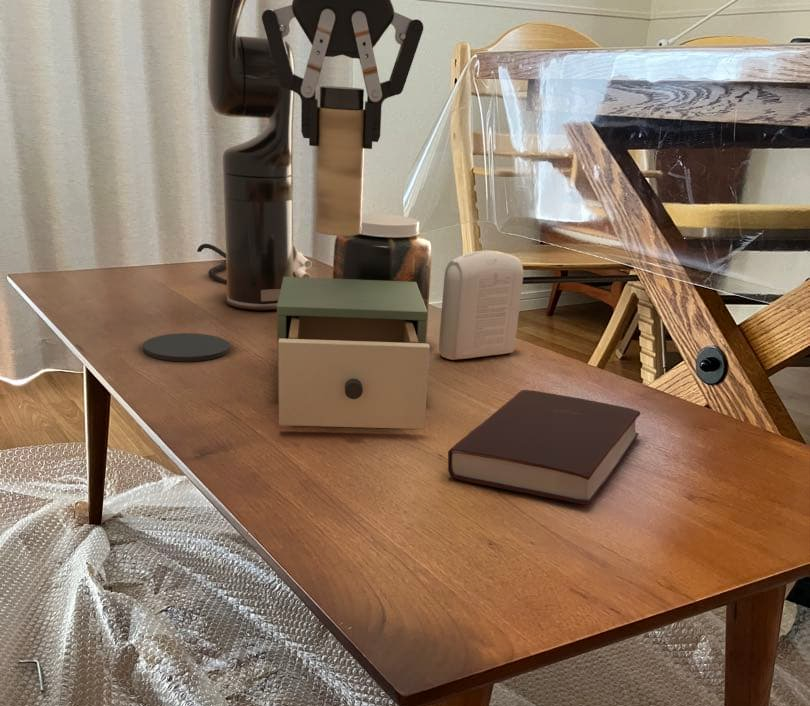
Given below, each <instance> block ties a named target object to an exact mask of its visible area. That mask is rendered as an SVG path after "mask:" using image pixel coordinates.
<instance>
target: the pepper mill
mask: <svg viewBox="0 0 810 706" xmlns="http://www.w3.org/2000/svg"><path fill="white" fill-rule="evenodd" d="M364 99H365V89H364V88H359V87H350V86H349V87H348V86H334V85H333V86H331V85H321V86H319V106H318V113H317V146H316V184H315V185H316V189H315V193H316V195H315V196H316V197H315V198H316V201H315V208H316V209H315V231H316V233H319V234H322V235H325V236H326V235H327V236H335V237H336V236H353V235H358V234H361V229H362V214H363V198H364V196H363V195H364V172H365V171H364V170H365V169H364V167H365V165H364V164H365V149H364V134H365V108H364V106H365V100H364Z"/></svg>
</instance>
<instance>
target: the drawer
mask: <svg viewBox="0 0 810 706" xmlns="http://www.w3.org/2000/svg"><path fill="white" fill-rule="evenodd" d="M430 354H431V347H430V344H429V343H427V342H426V343H419V342H418V339H417V336H416V332H415V329H414V326H413V323H412V320H395V319H368V318H340V317H313V316H292V318H291V325H290V331H289V339H279V341H278V366H279V402H278V425H279V426H289V427H290V426H292V427H326V428H327V427H328V428H331V427H332V428H364V429H365V428H368V429H404V430H405V429H406V430H407V429H408V430H409V429H410V430H424V429H425V427H426V412H427V411H426V410H427V397H428V383H429V369H430V368H429V367H430Z"/></svg>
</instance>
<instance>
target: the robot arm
mask: <svg viewBox="0 0 810 706" xmlns="http://www.w3.org/2000/svg"><path fill="white" fill-rule="evenodd" d="M209 1H210V2H209V22H208V23H209V26H208V29H209V30H208V47H207V89H208V97H209V101H210V104H211V108H212V109H213V110H214V112H215V113H216V114H218V115H219V116H223V117H229V118H231V117H232V118H248V119H249V118H251V119H267V123H266V126H265V128H264V129H263V130H262V131H261V132H260V133H258V134H257V135H256V136H255V137H252V138H251V139H249V140H247V141H244V142H242V143H239V144H236V145H233V146H230V147H228V148H226V149H225V150H224V151H223V153H222V178H223V179H222V181H223V182H222V183H223V203H224V205H223V207H224V229H225V230H224V235H225V236H224V237H225V252H224V251H223V250H222V249H220V248H218V247H217V246H215V245H213V244H210V243H203V244H200V246H198V248H197V250H196V252H197V253H201V252H202V251H203V250H205V249H208V250H212V251H214V252H215V253H217V254H218V255H220V256H221V257H223V258H224V259H225V260H224V262H222V263H221V264H218V265H216V266H214V267H212V268H210V269H209V270H208V275H209V277H210V278H211V279H213V280H214V281H216V282H218V283H221V284H223V285H226V304H228V305H229V306H231V307H234V308H238V309H242V310H249V311H277V304H278V299H279V295H280V290H281V286H282V281H283V277H294V272H293V245H294V175H293V174H294V173H293V172H294V169H293V168H294V167H293V166H294V165H293V163H294V162H293V160H294V159H293V158H294V155H293V154H294V148H293V147H294V110H295V95H296V94H297V95H298V96H299V98H300V101H301V102H300V103H301V104H300V105H301V109H300V110H301V111H300V112H301V114H300V115H301V116H300V118H301V119H300V122H301V123H300V124H301V126H300V127H301V130H300V131H301V135H302V137H303V139H308V146H309V147H317V113H318V107H319V106H318V105H319V104H318V103H319V99H318V98H317V86H318V82H319V80H320V79H319V78H320V75H321V71H322V68H323V64H324V61H325V58H326V57H327V58H328V57H329V58H334V57H339V56H345V57H348V58H350V59H357V60H359V64H360V69H361V73H362V77H363V82H364V86H365V90H366V91H365V92H366V94H367V95H366V96H367V97H366V99H367V100H364V109H365V134H364V150H365V149H366V150H372V149H373V143H379V140H380V138H381V130H382V129H381V128H382V106H383V103H384V101H385V100H386V99H389V98H391V97H395V96H399V95H400V94H402V92H403V91H404V88H405V85H406V82H407V79H408V76H409V73H410V71H411V68H412V65H413V61H414V59H415V56H416V53H417V50H418V47H419V44H420V41H421V38H422V35H423V32H424V24H423V22H422V21H421V20H420V19H416V18H415V19H412V18H410V17H407V16H404V15H403V14H400V13H398V12H396V11H395V7H394V5H393V2H392V0H292V3H291V4H290V5H286V6H282V7H279V8H276V9H266V10H264V11H263V12H262V15H261V21H262V24H263V28H264V31H265V35H266V37H258V36H257V37H255V36H242V35H241V36H239V35H237V34H238V28H239V23H240V20H241V16H242V13H243V10H244V7H245V4H246V2H247V0H209ZM294 18H295V20H296V21H297V22H298V24H299V26H300V28H301V30H302V31H303V33H304V34H305V36H306V38H307V39H308V41H309V43H310V45H311V48H310V49H311V50H310V53H309V56H308V60H307V63H306V68H305V71H304V75H303V77H301V76H299V75H297V74H296V63H295V57H294V52H293V49H292V47H291V45H290V44H289V43H288V41H286V40H285V39H284V38H285V37H287V36H289V35H290V33H291V21H292V20H293V19H294ZM391 25H392V26H393V28H394V40H395V42H396V44H398V45H400V47H399V49H398V52H397V55H396V58H395V61H394V65H393V67H392V70H391V74H390V77H389V80H385V81H383V82H380V77H379V72H378V67H377V62H376V57H375V52H374V48H375V47H376V46H377V44H378V43H379V41H380V40H381V38H382V37H383V35H384V34H385V32H386V31H387V30H388V28H389V27H390V26H391ZM295 93H296V94H295ZM224 269H226V279H225V278H223V277H221V276H219V275H217V274H216V272H219V271H221V270H224Z"/></svg>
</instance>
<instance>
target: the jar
mask: <svg viewBox="0 0 810 706" xmlns="http://www.w3.org/2000/svg"><path fill="white" fill-rule="evenodd" d="M332 262H333V263H332V264H333V265H332V279H355V280H380V281H405V282H416V283H417V286H418V288H419V291H420V294H421V296H422V299H423V301H424V304H425V307H426V309H427V312H428V313H429V309H430V308H429V307H430V296H431V295H430V293H431V278H432V275H431V274H432V244H431V241H430V240H429V239H428V238H426V237H424V236H422V235H420V220H418V219H417V218H413V217H409V216H404V215H397V214H387V213H362V229H361V234H358V235H353V236H335V239H334V247H333V261H332ZM428 322H429V315H428V316H427V326H428V325H429V323H428ZM427 337H428V331H427V332H426V340H427Z"/></svg>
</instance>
